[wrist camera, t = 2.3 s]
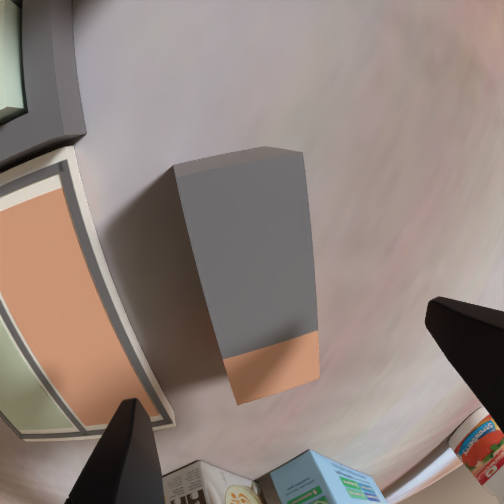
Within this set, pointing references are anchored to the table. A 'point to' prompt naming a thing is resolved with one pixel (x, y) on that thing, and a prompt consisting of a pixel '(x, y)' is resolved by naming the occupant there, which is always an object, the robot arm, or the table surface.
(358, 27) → the table surface
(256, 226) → the orange-tipped gray block
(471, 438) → the fruit juice
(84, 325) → the picture board
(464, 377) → the robot arm
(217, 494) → the coffee box
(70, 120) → the button housing
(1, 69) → the button
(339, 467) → the gum box
